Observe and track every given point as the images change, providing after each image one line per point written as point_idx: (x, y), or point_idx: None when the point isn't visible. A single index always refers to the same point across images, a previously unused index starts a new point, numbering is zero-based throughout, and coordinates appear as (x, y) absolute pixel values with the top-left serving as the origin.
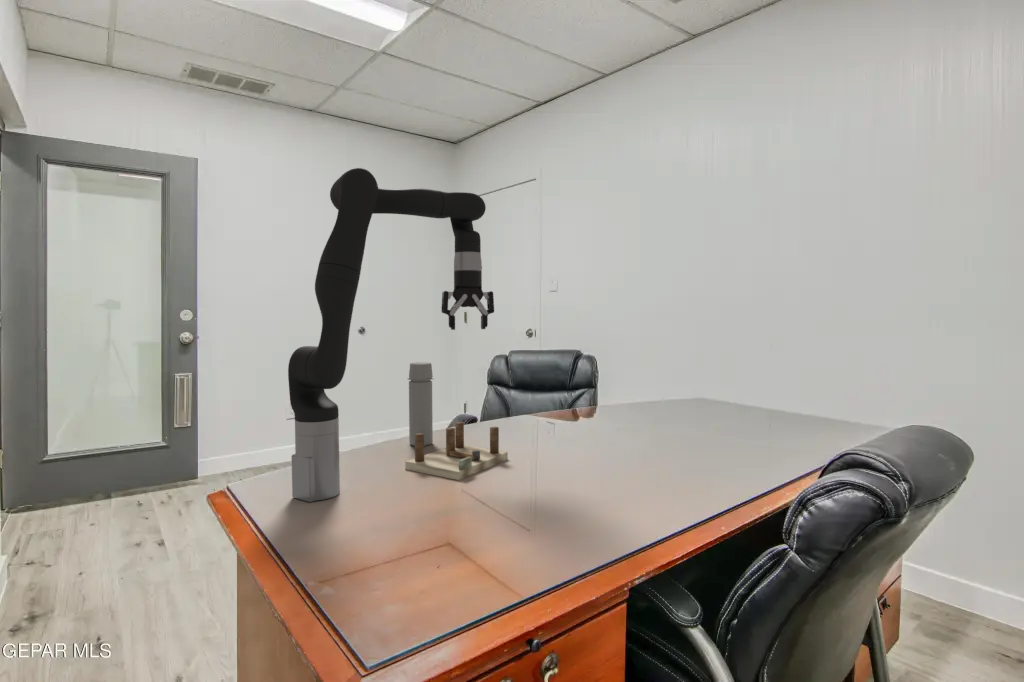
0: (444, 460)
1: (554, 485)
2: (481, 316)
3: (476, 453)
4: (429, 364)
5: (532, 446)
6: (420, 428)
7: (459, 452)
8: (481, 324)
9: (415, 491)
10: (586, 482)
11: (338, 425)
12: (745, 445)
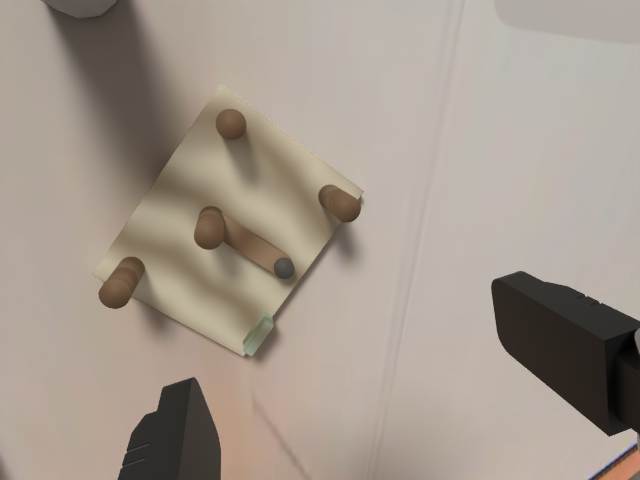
0: (199, 266)
1: (426, 370)
2: (596, 361)
3: (285, 278)
4: None
5: (440, 53)
6: (65, 3)
7: (238, 248)
8: (522, 310)
9: None
10: (485, 352)
11: None
12: None
